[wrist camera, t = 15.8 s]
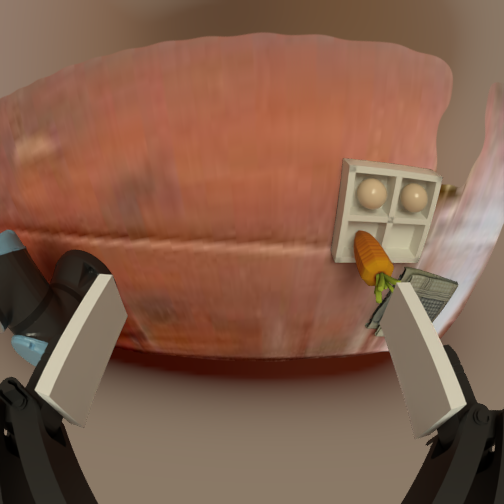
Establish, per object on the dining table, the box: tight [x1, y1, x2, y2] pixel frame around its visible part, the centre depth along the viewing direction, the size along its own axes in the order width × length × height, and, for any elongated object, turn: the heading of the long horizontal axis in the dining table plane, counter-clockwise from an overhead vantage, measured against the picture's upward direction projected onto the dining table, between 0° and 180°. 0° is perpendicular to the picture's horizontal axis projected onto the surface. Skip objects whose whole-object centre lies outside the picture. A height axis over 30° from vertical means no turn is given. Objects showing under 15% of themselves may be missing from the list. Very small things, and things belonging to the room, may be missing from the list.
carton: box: [331, 158, 442, 263], centre depth 40 cm, size 16×16×4 cm
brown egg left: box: [357, 178, 387, 210], centre depth 37 cm, size 5×5×5 cm
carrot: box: [353, 230, 401, 303], centre depth 37 cm, size 5×5×15 cm
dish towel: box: [365, 267, 458, 336], centre depth 53 cm, size 19×18×3 cm
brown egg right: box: [400, 183, 428, 213], centre depth 37 cm, size 5×5×5 cm
